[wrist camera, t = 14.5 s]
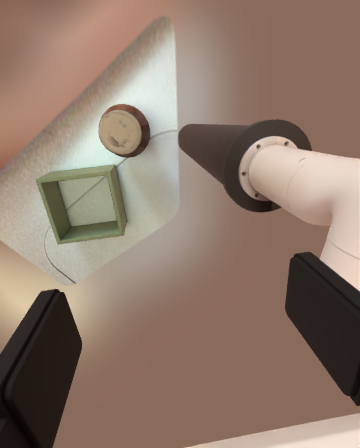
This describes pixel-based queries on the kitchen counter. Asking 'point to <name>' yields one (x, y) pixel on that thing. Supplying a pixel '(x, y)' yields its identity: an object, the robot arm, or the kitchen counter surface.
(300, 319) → the robot arm
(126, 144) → the sauce bottle
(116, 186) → the caddy
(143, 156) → the kitchen counter surface
